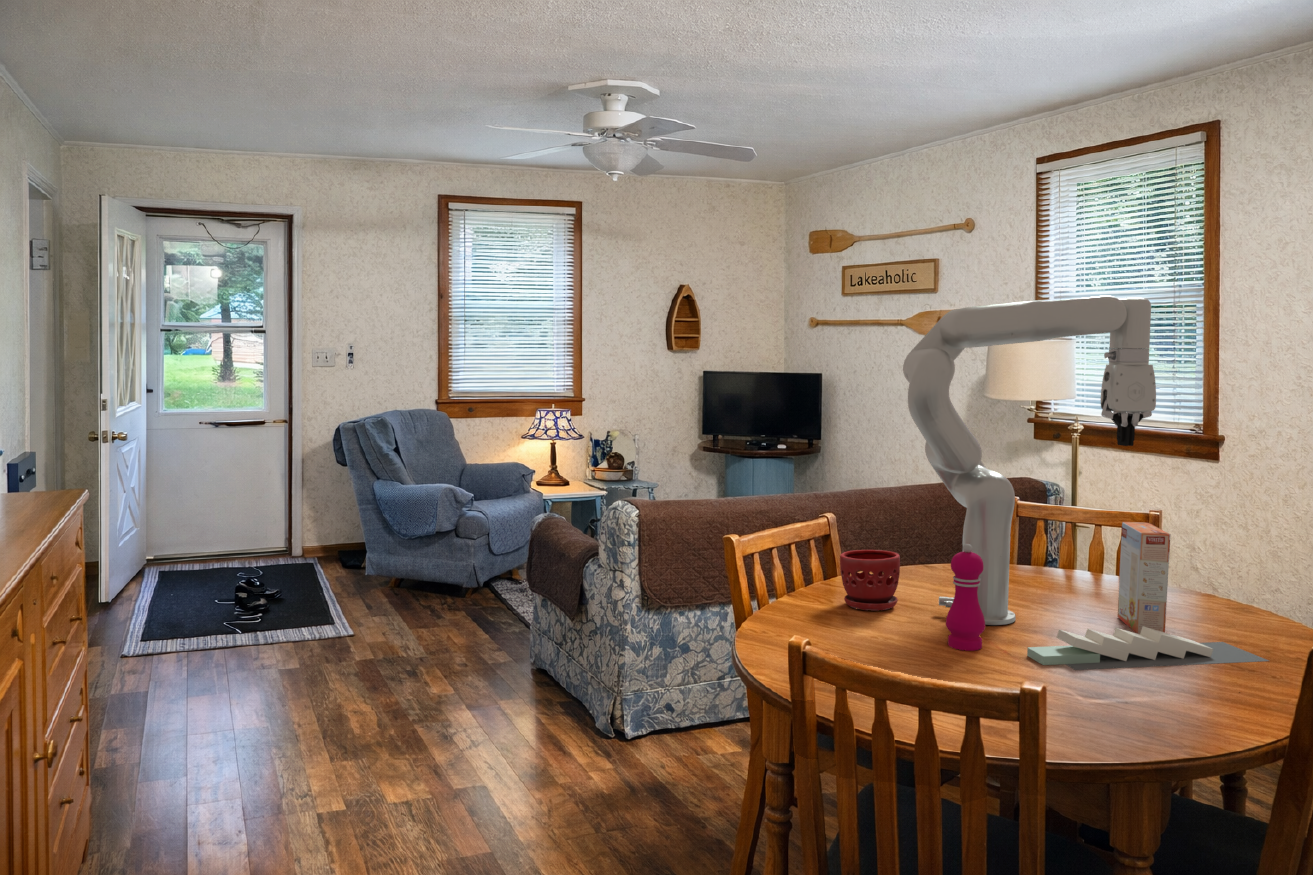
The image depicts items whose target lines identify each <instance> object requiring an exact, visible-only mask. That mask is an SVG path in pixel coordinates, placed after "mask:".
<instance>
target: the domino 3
mask: <svg viewBox="0 0 1313 875" xmlns="http://www.w3.org/2000/svg"><path fill="white" fill-rule="evenodd" d="M1112 636H1115V637H1117V638H1119V639H1121V640H1123V641H1125V642H1127V643H1129V644H1132V645H1135V646H1139V647H1143V648H1146V649H1150V650H1154V651H1157V652H1161V653H1164V654H1168V655H1172V656H1175V657H1179V658H1183V659H1184V656H1185V653H1186V650H1183V649H1179V648H1175V647H1172V646H1168V645H1165V644H1161V643H1158V642H1156V641H1154V640H1151V639H1149V638H1147V637H1145V636H1142V635H1140V633H1135V632H1134V631H1129V630H1125V629H1121V628H1119V627H1115V629H1114V631H1113V634H1112Z"/></svg>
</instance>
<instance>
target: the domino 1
mask: <svg viewBox="0 0 1313 875" xmlns="http://www.w3.org/2000/svg"><path fill="white" fill-rule="evenodd" d="M1056 639H1059V640H1060V641H1062V642H1064V643H1066V644H1068V645H1069V646H1071V645H1072V646H1074V647H1077V648H1081V649H1084V650H1088V651H1092V652H1095V653H1099V654H1102V655H1106V656H1109V657H1113V658H1116V659H1120V660H1123V661H1126V660H1127V657H1128V654H1129V653H1128V652H1124V651H1121V650H1117V649H1113V648H1110V647H1106V646H1103V645H1100V644H1098V643H1096V642H1094V641H1092V640H1090V639H1088V638H1086V637H1085V635H1084V636H1083V635H1080V634H1077V633H1074V632H1069V631H1066V630H1063V629H1058V632H1057V635H1056Z"/></svg>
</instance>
